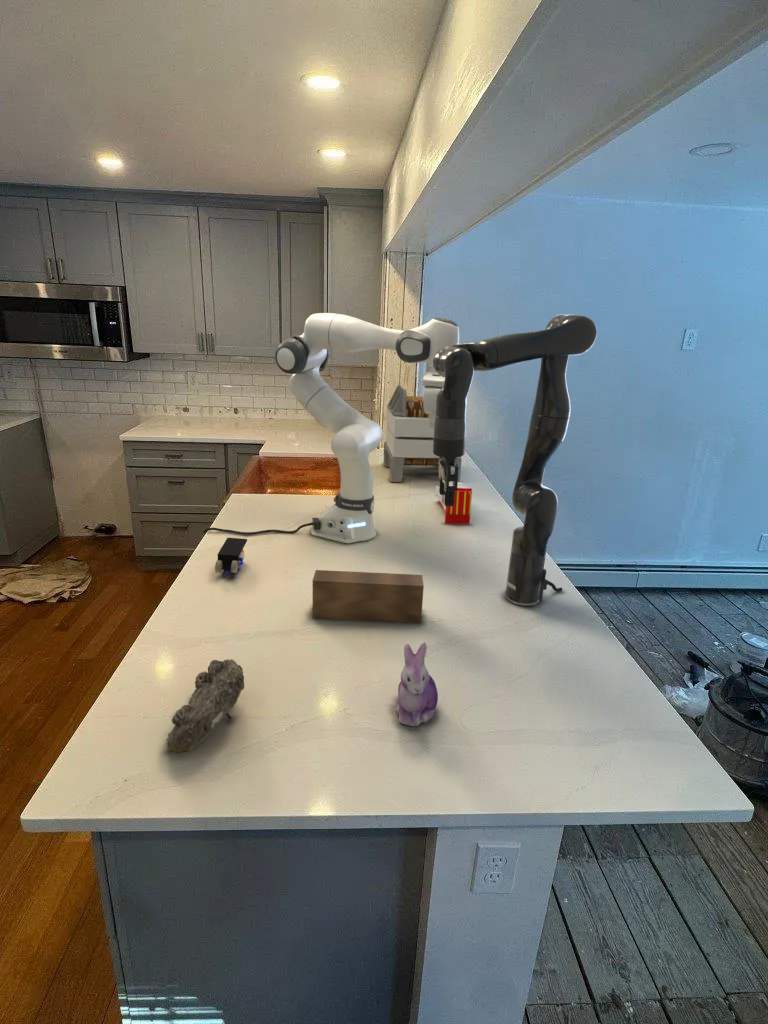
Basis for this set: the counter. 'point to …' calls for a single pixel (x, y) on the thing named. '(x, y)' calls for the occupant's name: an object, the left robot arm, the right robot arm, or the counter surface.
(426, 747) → the counter surface
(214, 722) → the fossil
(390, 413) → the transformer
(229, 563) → the black wheeled vehicle
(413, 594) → the box
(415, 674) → the figurine
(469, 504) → the toy
